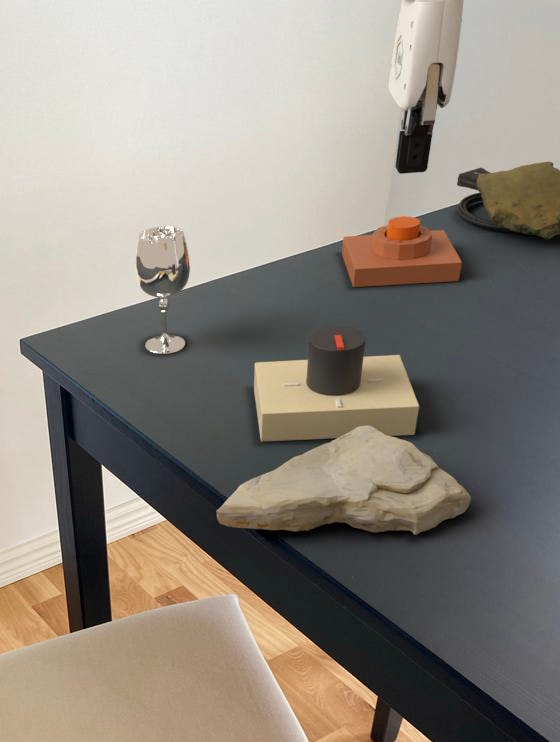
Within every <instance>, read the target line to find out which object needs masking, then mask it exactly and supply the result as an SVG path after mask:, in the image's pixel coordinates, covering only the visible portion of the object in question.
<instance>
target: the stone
mask: <svg viewBox="0 0 560 742" xmlns="http://www.w3.org/2000/svg"><path fill="white" fill-rule="evenodd" d="M471 501H472V496H471V495H470V493H469V492H468V491H467V489H466V488H465V487H464V486H463V485H461V484H459V482H457V479H455V478H454V477H453V476H452V475H450V474H449V473H448V472H446V471H445V470H443V469H442V468H440V467H439V466H438V465H437V463H436V462H435V461H434V460H433V458H432V457H431V456H430V455H428V454H426V453H424V452H423V451H420V450H419V449H418V448H417V447H416V446H415V445H414V444H413V443H412V442H411V441H407V440H405V439H402V438H401V439H400V438H398V437H397V436H387V435H384V434H383V433H382V432H380V431H378V430H377V429H376V428H374V427H372V426H359V427H357V428H355V429H354V430H352V431H350V432H349V433H347V434H345V435H343V436H341V437H339V438H334V439H332V440H331V441H330V442H325V443H324V444H321V445H319V446H316V447H313V448H312V449H311V450H308V451H306V452H304V453H303V454H299V455H296V456H293V457H292V458H291V459H289V460H288V461H286V462H284V463H283V464H282V465H280V466H278V467H277V468H275V469H274V470H271V471H269V472H265V473H263V474H260V475H259V476H255V477H253V478H251V479H249V480H247V481H245V482H244V483H241V484H240V485H238V487H237V489H236V490H235V491H234V492H233V493H232V494H231V495H230V496H229V497H228V498H227V499H226V500H225V501H224V503H222V505H221V506H220V507H219V508H218V509H217V510H216V511H215V513H216V519H217V521H218V523H219V524H220V525H223V526H226V527H231V528H239V529H250V530H251V529H252V530H265V531H266V530H268V531H289V532H290V531H291V532H294V533H295V532H301V531H305V532H306V531H307V532H308V531H310V530H313V529H316V528H318V527H320V526H324V525H330V524H333V523H345V524H347V525H349V526H351V527H352V528H356V529H361V530H363V531H367V532H370V533H380V532H381V533H382V532H387V531H409V532H411V533H413V535H414V536H415V535H419V534H420V533H421V532H426V531H429V530H431V529H434V528H436V527H437V526H438V525H439V524H441V523H442V522H443V521H446V520H449V519H455V518H456V517H457V516H459V515H461V514H462V515H463V514H464V513H465V512H466V511H467V509H468V508H469V506H470V504H471Z"/></svg>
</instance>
